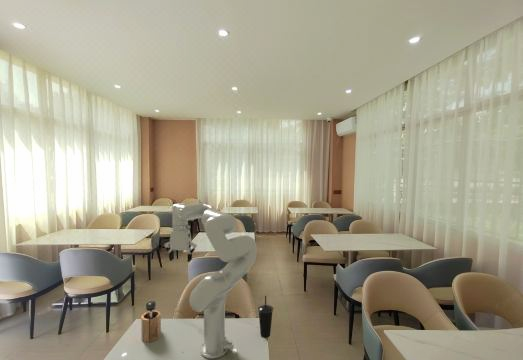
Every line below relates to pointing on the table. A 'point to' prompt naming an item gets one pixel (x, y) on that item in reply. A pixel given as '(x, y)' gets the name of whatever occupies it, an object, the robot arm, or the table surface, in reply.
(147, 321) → the brown faceted holder
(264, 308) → the drinking cup
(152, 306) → the plunger
